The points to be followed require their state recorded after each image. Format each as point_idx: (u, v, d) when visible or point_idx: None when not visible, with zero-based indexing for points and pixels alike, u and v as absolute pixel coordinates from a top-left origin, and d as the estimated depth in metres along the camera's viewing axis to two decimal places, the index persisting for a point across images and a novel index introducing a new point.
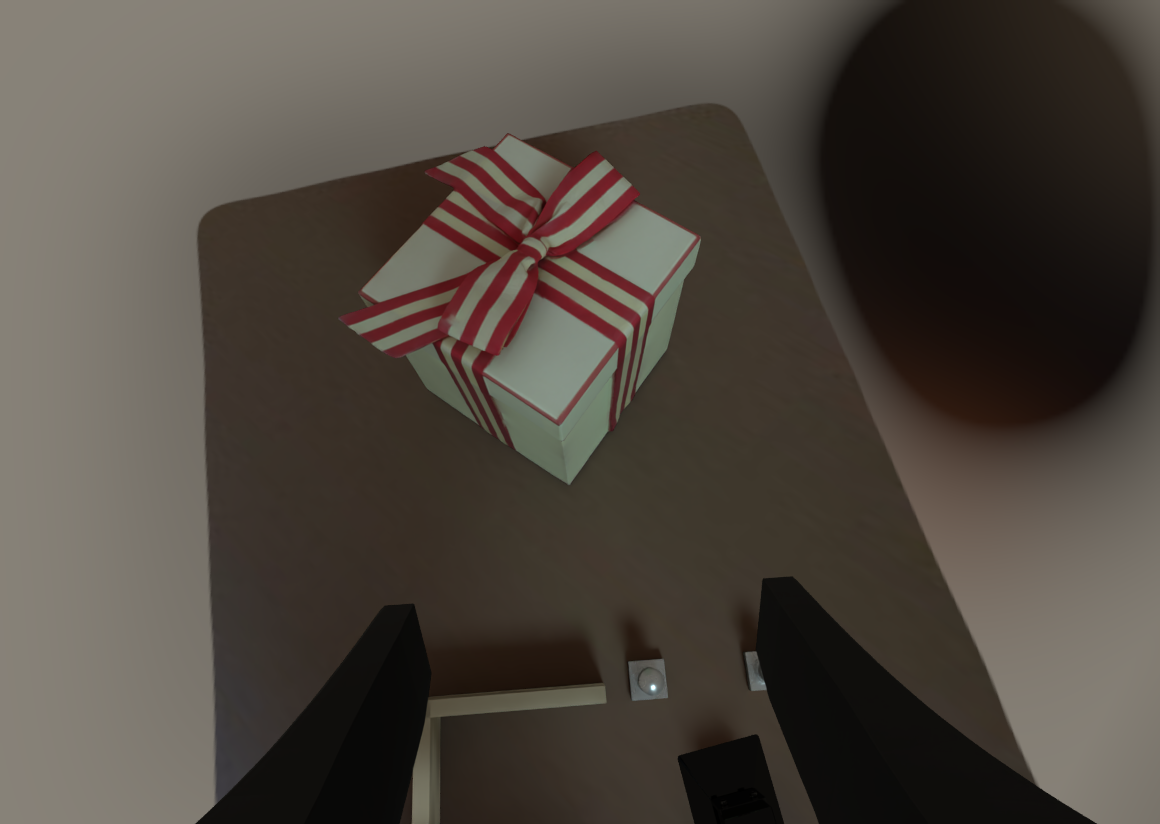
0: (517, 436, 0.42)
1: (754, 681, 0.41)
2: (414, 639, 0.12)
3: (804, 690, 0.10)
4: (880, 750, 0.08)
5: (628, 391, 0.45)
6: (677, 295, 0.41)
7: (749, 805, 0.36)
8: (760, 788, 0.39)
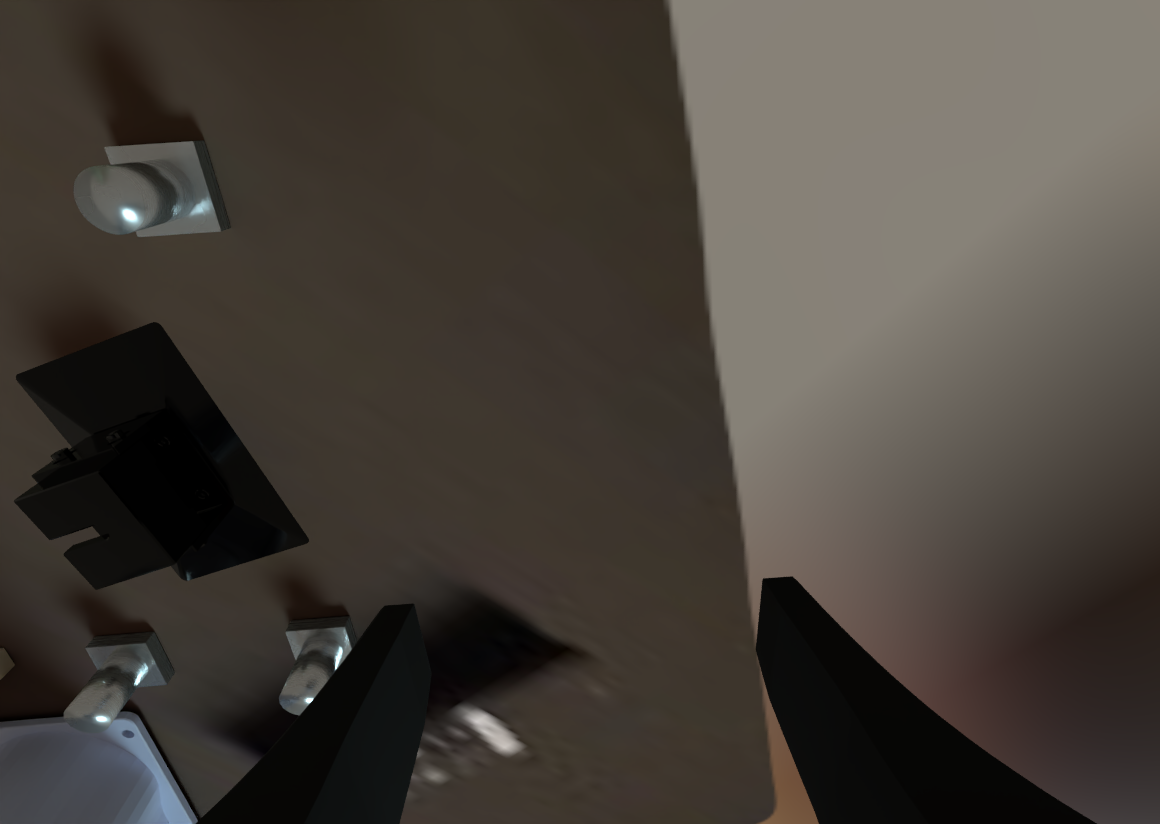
0: None
1: None
2: (415, 639, 0.12)
3: (804, 690, 0.10)
4: (880, 750, 0.08)
5: None
6: None
7: (86, 462, 0.18)
8: (182, 407, 0.20)
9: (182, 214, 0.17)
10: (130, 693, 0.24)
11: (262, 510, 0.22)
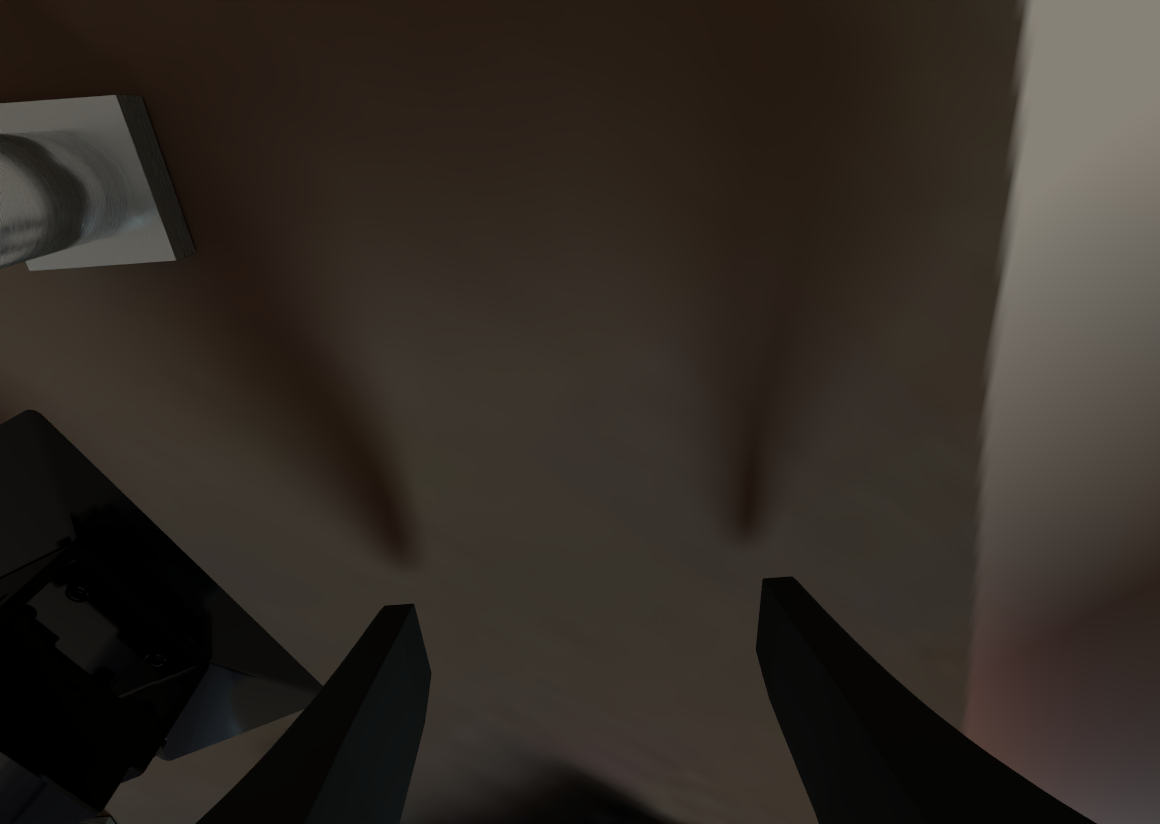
0: None
1: None
2: (414, 640, 0.12)
3: (804, 690, 0.10)
4: (880, 750, 0.08)
5: None
6: None
7: None
8: (102, 535, 0.13)
9: (102, 232, 0.09)
10: None
11: (255, 665, 0.15)
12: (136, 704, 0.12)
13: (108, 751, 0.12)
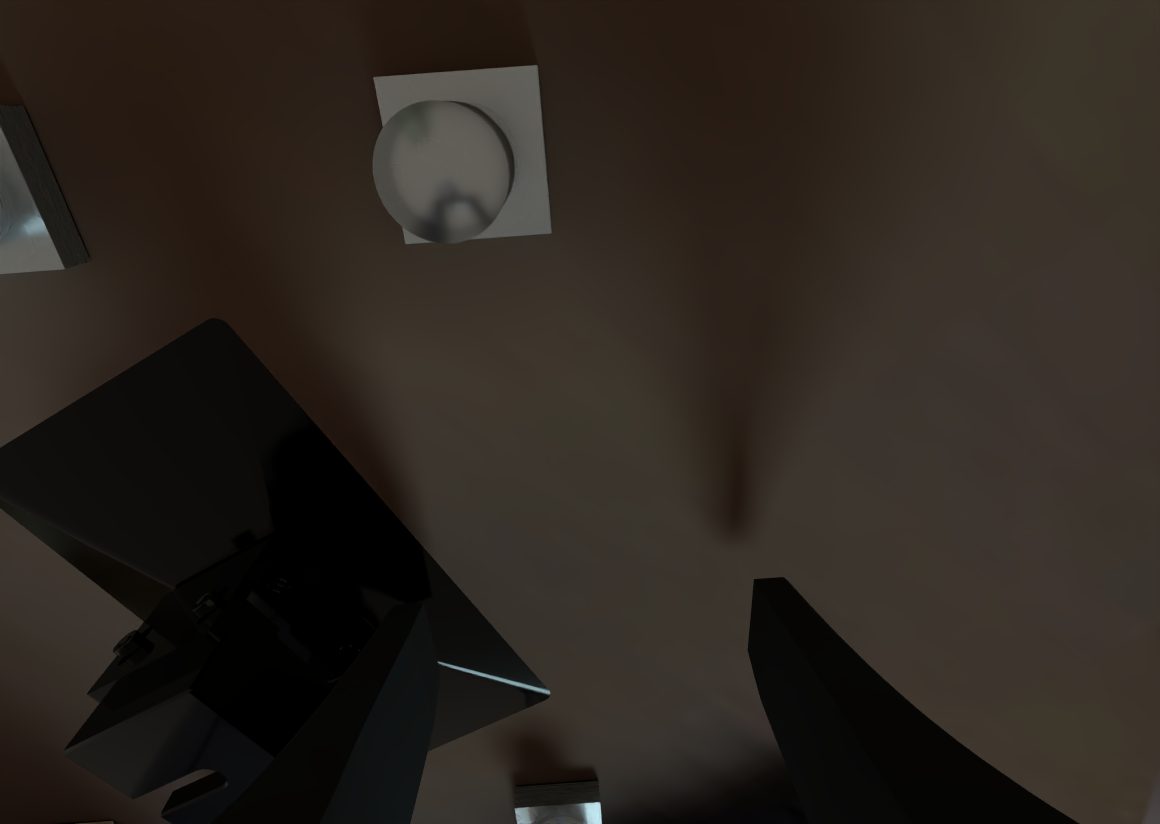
0: None
1: None
2: (425, 639, 0.12)
3: (794, 691, 0.10)
4: (867, 751, 0.08)
5: None
6: None
7: (169, 662, 0.10)
8: (300, 525, 0.13)
9: None
10: None
11: (437, 653, 0.14)
12: None
13: None
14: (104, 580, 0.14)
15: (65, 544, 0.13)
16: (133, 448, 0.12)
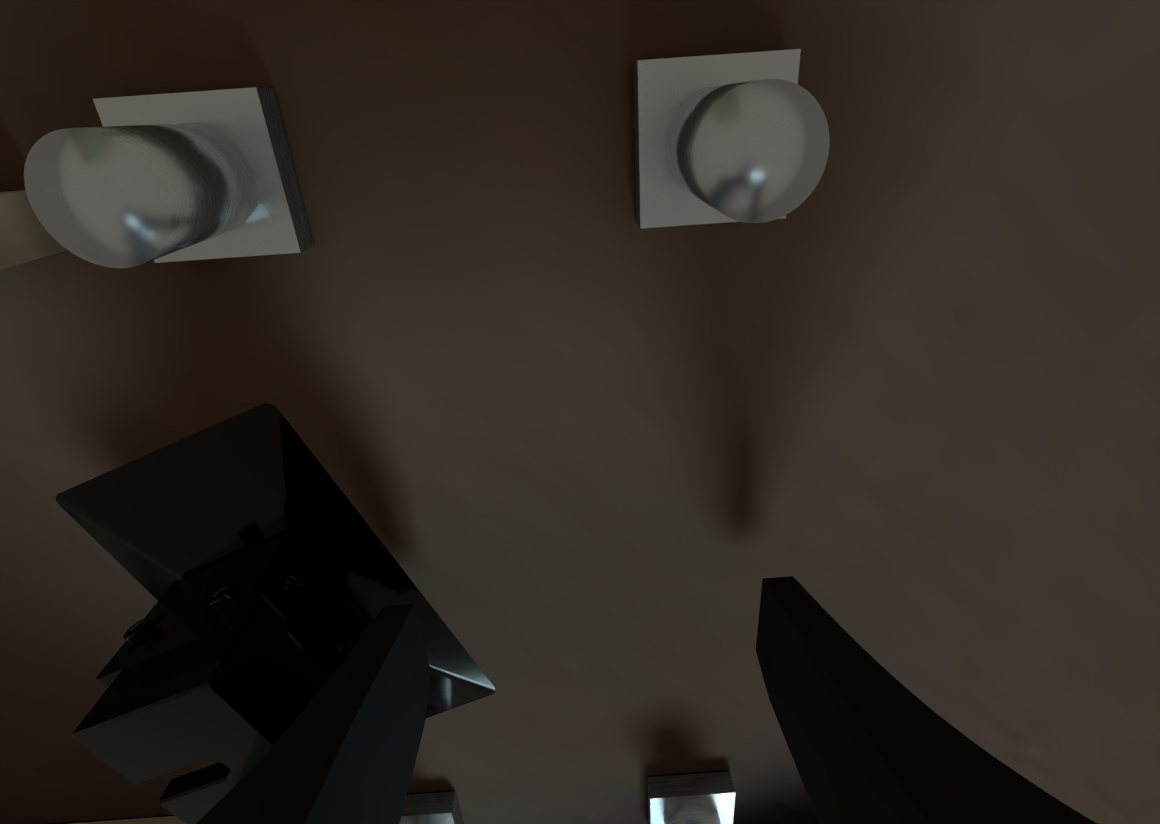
0: None
1: (659, 191, 0.10)
2: (415, 639, 0.12)
3: (804, 690, 0.10)
4: (880, 750, 0.08)
5: None
6: None
7: (183, 653, 0.11)
8: (314, 526, 0.13)
9: None
10: None
11: (432, 658, 0.15)
12: None
13: None
14: None
15: None
16: None
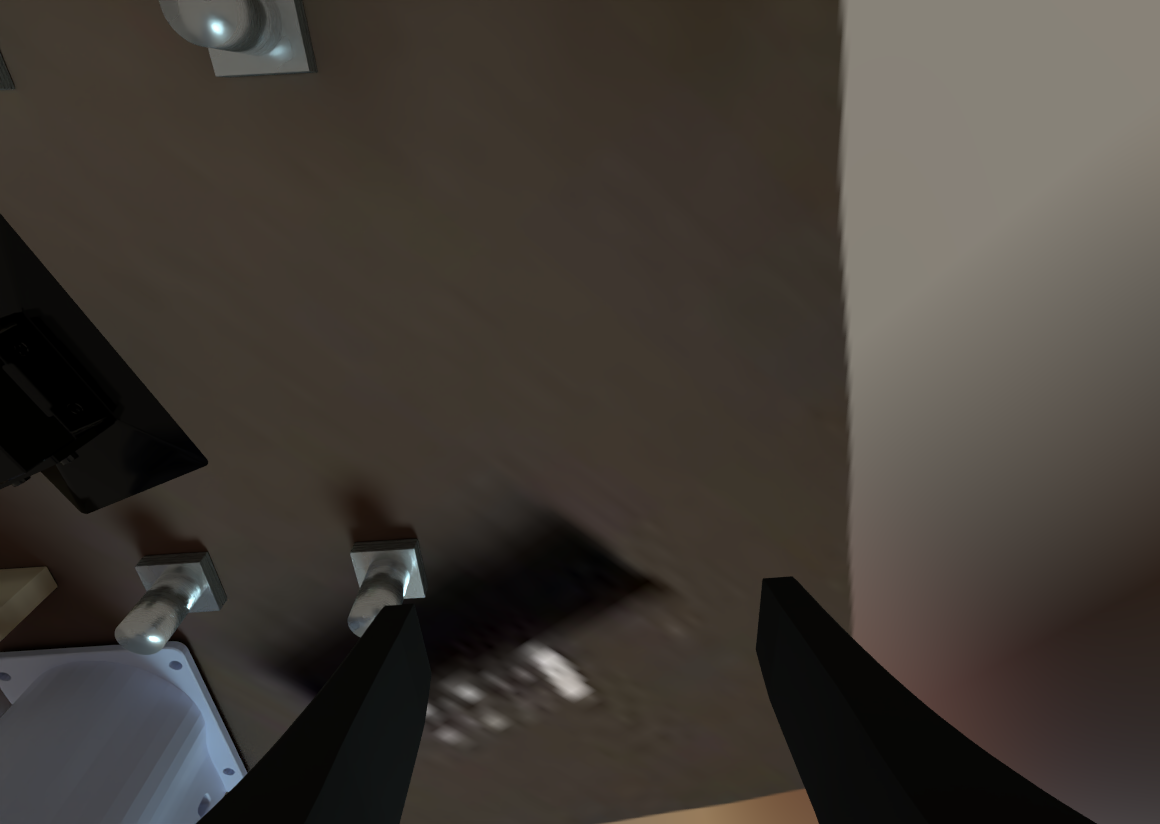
0: None
1: (221, 50, 0.15)
2: (415, 639, 0.12)
3: (804, 690, 0.10)
4: (880, 750, 0.08)
5: None
6: None
7: None
8: (40, 309, 0.18)
9: (269, 45, 0.15)
10: (183, 615, 0.22)
11: (150, 428, 0.20)
12: (57, 422, 0.18)
13: (34, 440, 0.17)
14: None
15: None
16: None
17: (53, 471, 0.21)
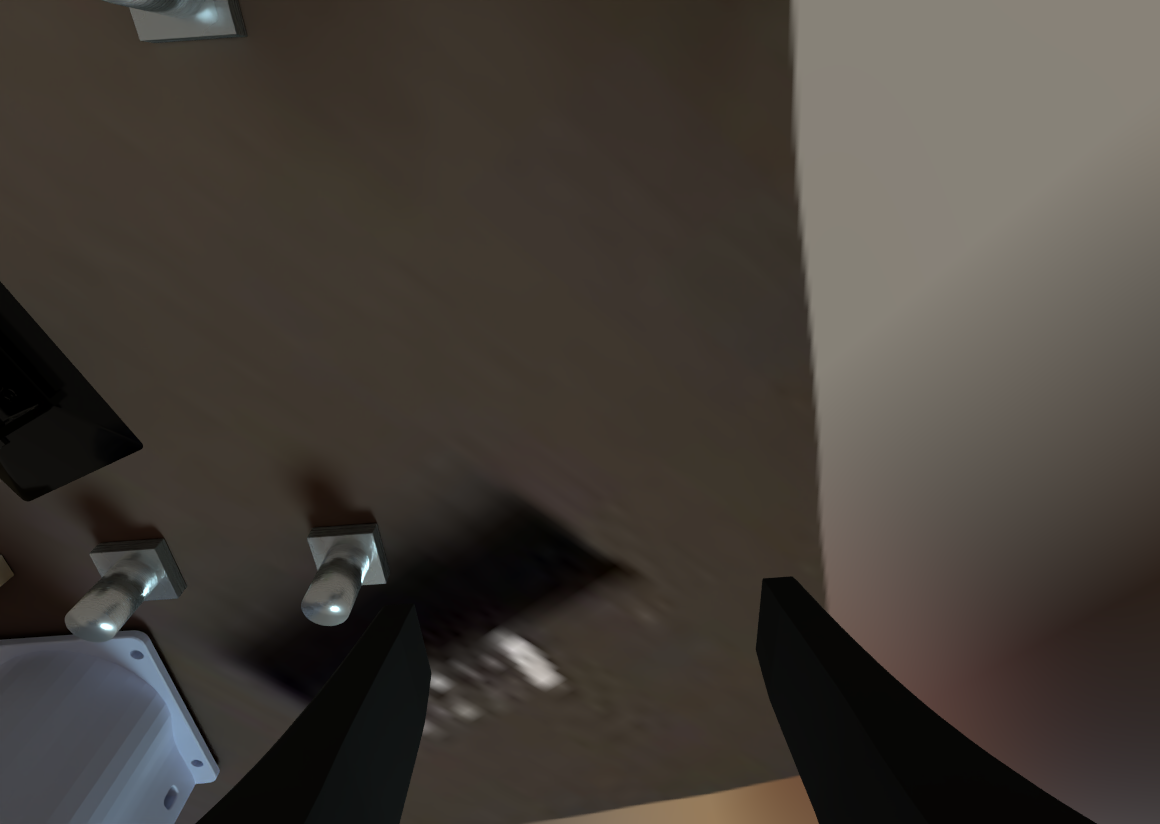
0: None
1: (144, 13, 0.15)
2: (414, 639, 0.12)
3: (804, 690, 0.10)
4: (880, 750, 0.08)
5: None
6: None
7: None
8: None
9: (191, 6, 0.14)
10: (138, 602, 0.22)
11: (88, 414, 0.20)
12: None
13: None
14: None
15: None
16: None
17: None
